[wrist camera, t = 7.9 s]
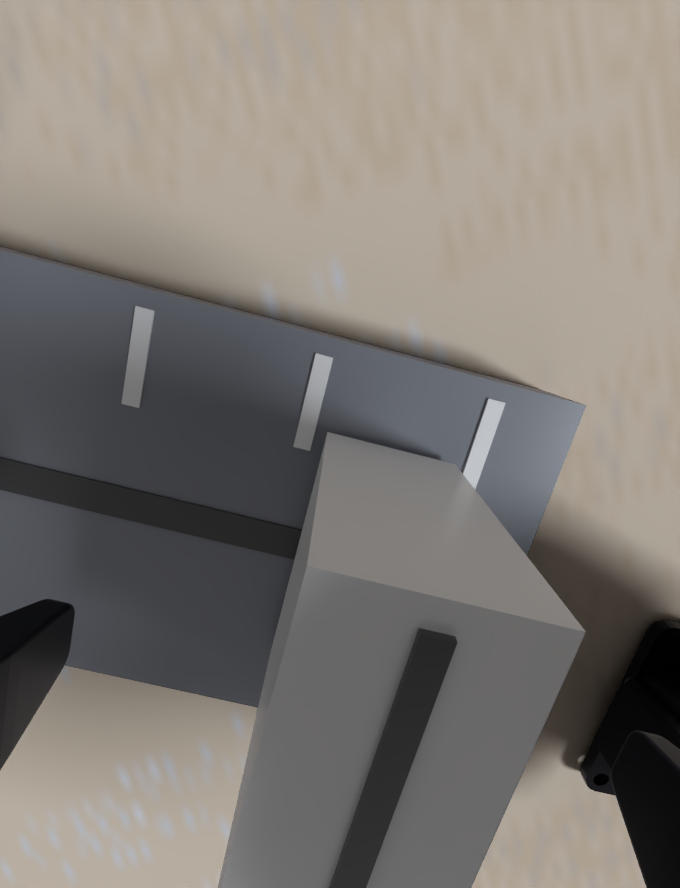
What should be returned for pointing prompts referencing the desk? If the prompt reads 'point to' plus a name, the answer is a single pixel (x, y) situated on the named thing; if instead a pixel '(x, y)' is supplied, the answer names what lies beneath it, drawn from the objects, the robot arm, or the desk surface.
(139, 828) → the desk surface
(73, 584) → the fader board
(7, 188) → the desk surface
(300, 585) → the fader knob
